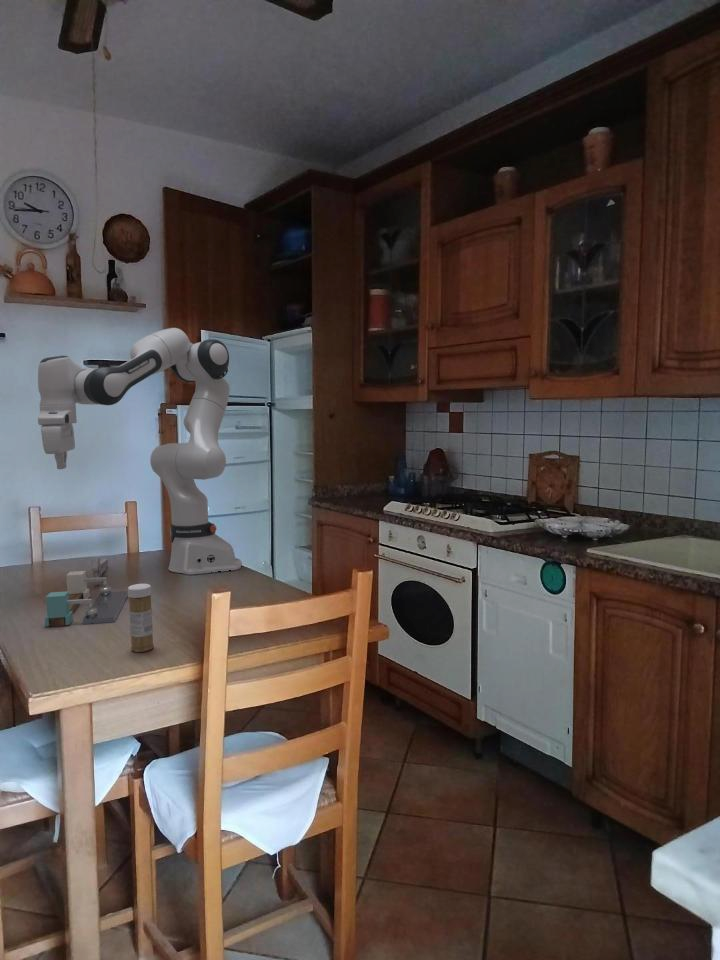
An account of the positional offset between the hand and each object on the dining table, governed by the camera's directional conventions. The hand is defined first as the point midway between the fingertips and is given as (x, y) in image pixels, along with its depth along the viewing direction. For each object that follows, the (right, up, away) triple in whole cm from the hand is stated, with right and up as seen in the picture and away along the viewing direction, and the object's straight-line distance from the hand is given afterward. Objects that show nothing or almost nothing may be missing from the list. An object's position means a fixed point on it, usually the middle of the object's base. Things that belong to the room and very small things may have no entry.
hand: (61, 468), depth 183 cm
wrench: (+3, -32, +19) cm, 38 cm away
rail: (+8, -36, -15) cm, 39 cm away
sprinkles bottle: (+35, -38, -42) cm, 67 cm away
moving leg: (+13, -36, -24) cm, 45 cm away
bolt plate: (+17, -35, -13) cm, 41 cm away
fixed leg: (+8, -34, -4) cm, 35 cm away
